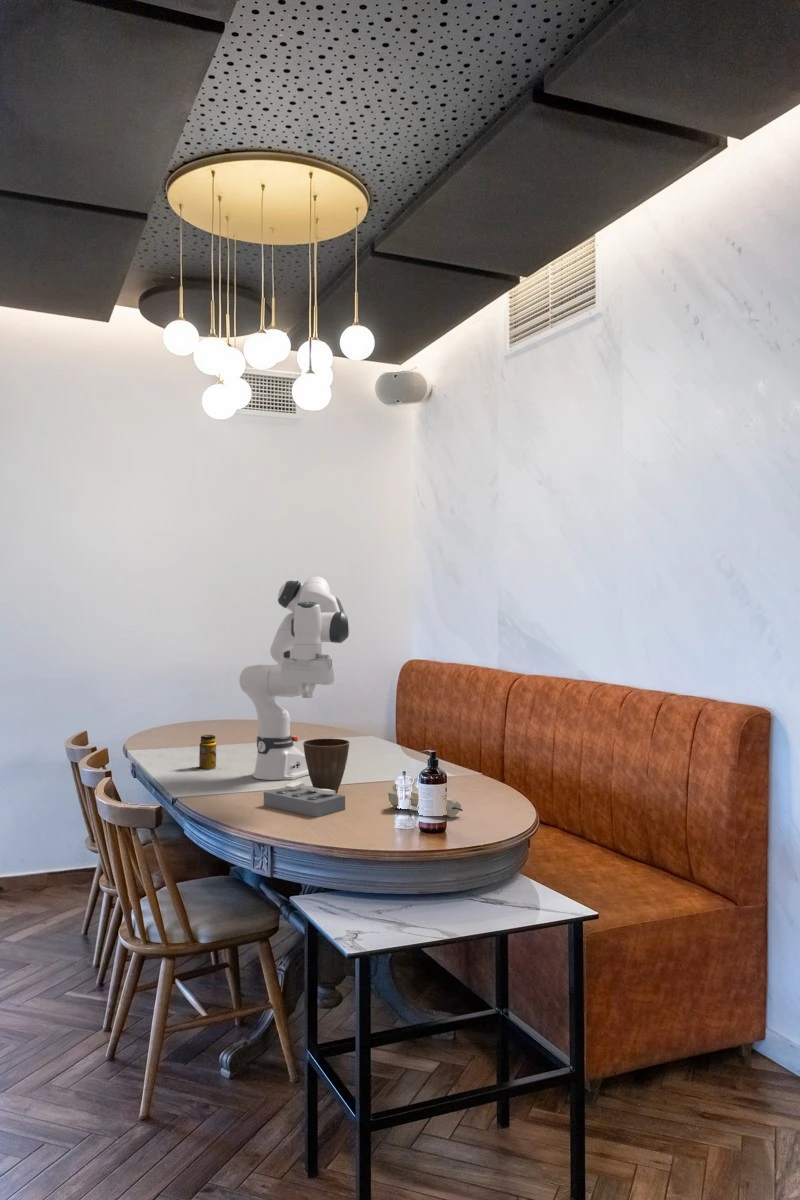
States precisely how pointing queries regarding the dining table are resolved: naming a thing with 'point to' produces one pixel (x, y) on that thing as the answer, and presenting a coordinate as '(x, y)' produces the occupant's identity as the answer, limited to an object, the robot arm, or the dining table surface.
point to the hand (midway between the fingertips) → (307, 697)
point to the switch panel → (304, 801)
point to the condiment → (207, 753)
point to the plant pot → (326, 761)
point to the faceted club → (452, 804)
